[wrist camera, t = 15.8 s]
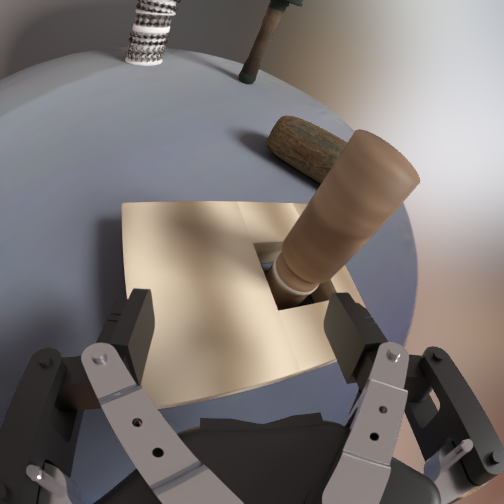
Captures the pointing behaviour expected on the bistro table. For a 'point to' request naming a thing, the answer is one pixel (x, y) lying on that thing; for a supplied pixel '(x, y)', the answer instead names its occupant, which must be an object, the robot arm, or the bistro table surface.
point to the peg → (341, 216)
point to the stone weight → (305, 146)
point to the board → (220, 298)
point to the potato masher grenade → (264, 38)
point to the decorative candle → (150, 32)
